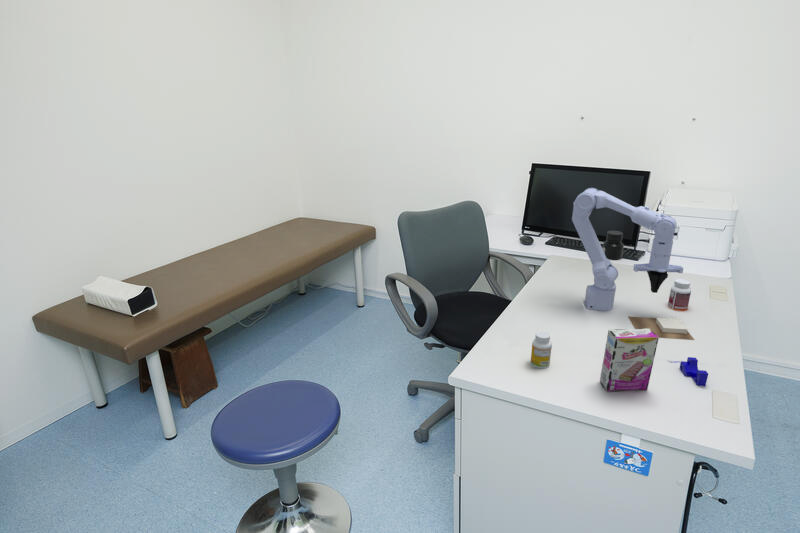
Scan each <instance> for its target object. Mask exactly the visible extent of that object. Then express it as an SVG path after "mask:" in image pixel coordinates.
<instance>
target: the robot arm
mask: <svg viewBox="0 0 800 533" xmlns="http://www.w3.org/2000/svg"><path fill="white" fill-rule="evenodd" d="M572 203H573V204H572V205H573V207H572V214H571V215H572V216H571V222H572V223H573V225H574V227H575V229H576V232H577V234H578V236H579V239H580V241H581V243H582V245H583V248H584V249H585V252H586V254H587V256H588V258H589V261H590V262H591V266H592V274H593V278H594V279H593V284H589V285H588V284H587V286H586V288H585V297H584V305H585V306H586V307H585V308H586V309H587V310H594V311H601V312H608V311H612V310H613V309H614V302H615V297H616V289H617V286H616V283H615V281H616V280H617V279H618V277H619V271H618V269H617V268H616V266H614V264H612V261H611V259H607V258H606V256H605V254H604V251H603V249H602V248H603V246H602V245H601V243H600V241H599V238H598V237H597V234H596V231H595V229H594V227H593V224H592V223H591V221H590V218H589V217H590V215H591V214H592V211H593V210H594V208H595V209H596V210H597V209H598V210H599V209H603V208H607V209H609V210H610V209H611V210H613V211H616V212H618V213H621V214H623V215H626V216H628V217H630V219H631V222H632V223H635V224H637V225H638V226H641V227H643V228H645V229H647V230H649V231H653V232H654V236H653V239H652V245H651V250H650V254H649V255H650V256H649V261H648V263H637V264H633V269H632V270H633V271H634V272H636V273H639V272H646V273H647V276H648V278H649V283H650V291H651V293H658V291H659V289H660V287H661V286H662V284H663V283H664V282H665V280H667V278H668V277H669V273H679V274H683V272H684V267H683V266H682V265H676V264H670V260H671V255H672V251H673V250H672V249H673V246H674V245H673V244H674V238H675V236H674V234H675V233H676V229H677V225H678V224H677V221H676V219H675V218H674V217H672V216H671V215H667V214H665V213H662V212H661V213H659V212H656V211H654V210H652V209H650V206H648V205H645V206H643V205H640V206H633V205H631V204H630V203H627V202H625V201H623V200H622V199H619V198H617V197H616V196H613V195H611V194H609V193H607V192H606V191H604V190H599V189H597V188H595V187H589V188H586V189H585V190H584V191H583V192H581V193H579V194H578V195H577V197H576V198H575V200H574V201H573V202H572Z"/></svg>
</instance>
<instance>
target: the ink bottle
mask: <svg viewBox="0 0 800 533" xmlns="http://www.w3.org/2000/svg"><path fill="white" fill-rule="evenodd" d="M623 237H624V233H623V232H622V231H619V230H608V231H607V232H606V240H605V241H603V244H602V249H603V251H604V254H605V256H606V258H607V259H608V260H610V261H612V260H613V261H615V260H621V259H623V253H624V248H625V245H624V243H623Z"/></svg>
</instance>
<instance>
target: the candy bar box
mask: <svg viewBox="0 0 800 533" xmlns="http://www.w3.org/2000/svg"><path fill="white" fill-rule="evenodd" d="M606 336H607V337H606V343H605V348H604V356H603V361H602V367H601V372H600V378H599V382H600V384H601V385H602V386H603V388H604V389H605V391H606V392H621V391H623V392H624V391H648V388H649V384H650V379H651V376H652V375H651V374H652V369H653V366H654V365H653V364H654V360H655V357H656V353H657V352H656V351H657V347H658V343H659V339H660V338H659V337H658V336H657V335H656V334H655V333H654V332H652V330H650V329H635V328H629V329H628V328H626V329H625V328H624V329H622V328H621V329H620V328H619V329H618V328H617V329H616V328H615V329H608V331H607V335H606Z"/></svg>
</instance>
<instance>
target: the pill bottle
mask: <svg viewBox="0 0 800 533" xmlns="http://www.w3.org/2000/svg"><path fill="white" fill-rule="evenodd" d="M690 286H691V281H690V280H687V279H683V278H676V279H675V280H674V283H673V285H672V286H671V287H670V292H669V296H668V302H667V307H668V308H669V309H671V310H673V311H677V312H685V311H688V308H689V305H690V298H691V293H692V289H691V288H690Z"/></svg>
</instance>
